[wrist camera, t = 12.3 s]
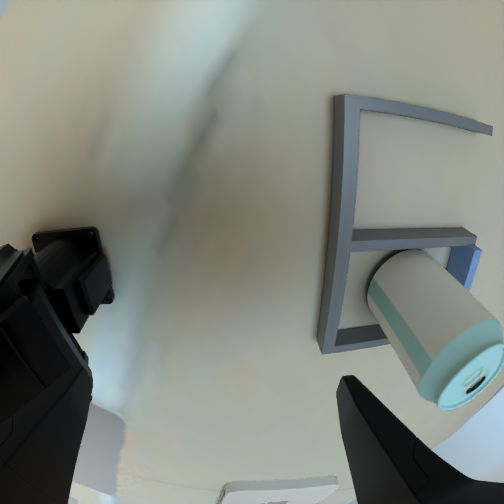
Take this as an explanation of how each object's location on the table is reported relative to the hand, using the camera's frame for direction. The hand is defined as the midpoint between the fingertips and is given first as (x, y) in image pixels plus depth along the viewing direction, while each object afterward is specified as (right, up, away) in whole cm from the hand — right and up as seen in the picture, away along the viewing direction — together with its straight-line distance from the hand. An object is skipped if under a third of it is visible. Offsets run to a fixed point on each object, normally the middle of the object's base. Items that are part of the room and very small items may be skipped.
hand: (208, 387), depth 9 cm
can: (+14, +2, +15) cm, 21 cm away
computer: (+6, -46, +38) cm, 60 cm away
